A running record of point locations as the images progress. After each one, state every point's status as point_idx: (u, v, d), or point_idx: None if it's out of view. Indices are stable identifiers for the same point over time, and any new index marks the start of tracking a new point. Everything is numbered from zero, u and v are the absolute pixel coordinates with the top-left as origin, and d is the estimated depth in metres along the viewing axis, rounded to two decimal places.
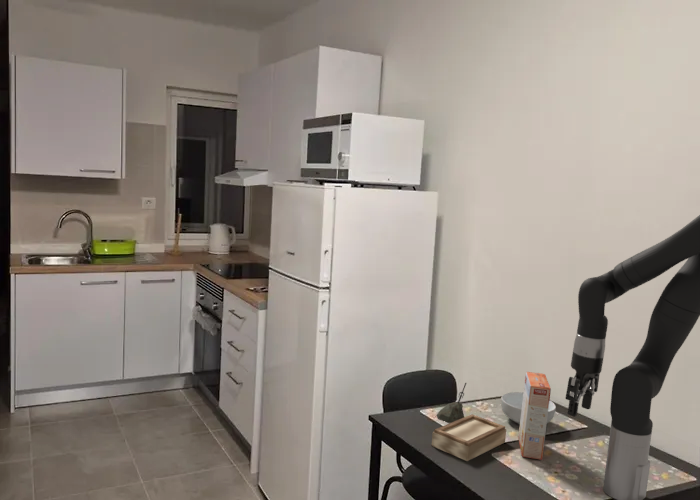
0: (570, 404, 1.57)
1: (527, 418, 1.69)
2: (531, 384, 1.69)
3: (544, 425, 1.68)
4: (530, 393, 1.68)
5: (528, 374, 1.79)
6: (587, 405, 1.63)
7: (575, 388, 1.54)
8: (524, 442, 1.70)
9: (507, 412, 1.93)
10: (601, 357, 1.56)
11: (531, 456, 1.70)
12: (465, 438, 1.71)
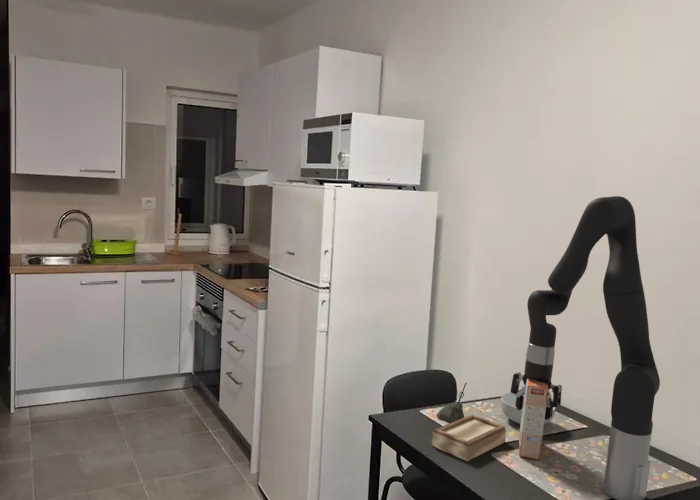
0: (550, 410, 1.71)
1: (524, 418, 1.69)
2: (529, 384, 1.69)
3: (541, 425, 1.68)
4: (527, 393, 1.69)
5: None
6: (521, 406, 1.78)
7: (560, 393, 1.70)
8: (521, 442, 1.70)
9: (507, 412, 1.93)
10: None
11: (528, 456, 1.70)
12: (465, 438, 1.71)
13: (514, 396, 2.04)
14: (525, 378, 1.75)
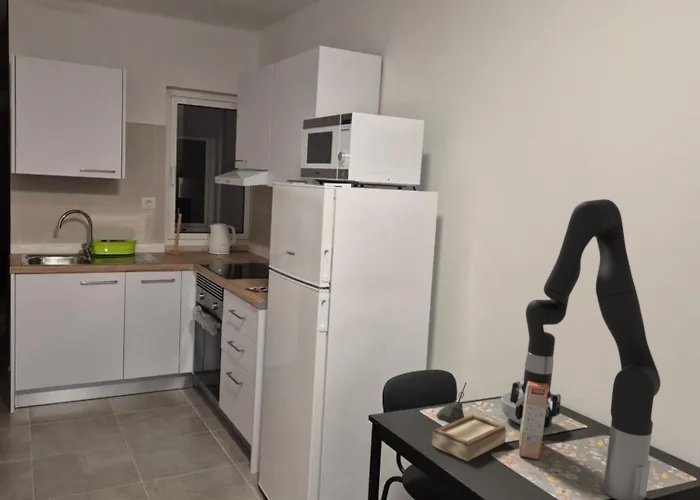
0: (549, 419, 1.72)
1: (525, 417, 1.69)
2: (529, 384, 1.69)
3: (542, 425, 1.68)
4: (528, 392, 1.69)
5: None
6: (521, 415, 1.79)
7: (559, 403, 1.71)
8: (522, 441, 1.70)
9: (507, 412, 1.93)
10: None
11: (528, 456, 1.70)
12: (465, 438, 1.71)
13: None
14: (524, 387, 1.76)
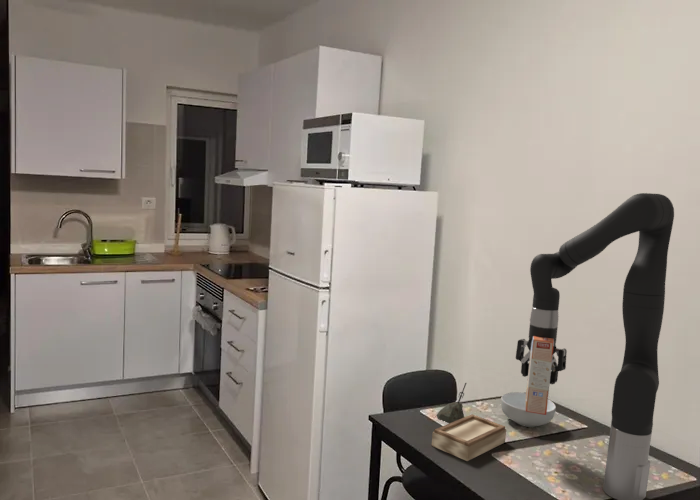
0: (555, 374, 1.70)
1: (530, 372, 1.68)
2: (534, 338, 1.68)
3: (548, 379, 1.67)
4: (533, 347, 1.67)
5: None
6: (527, 372, 1.77)
7: (565, 357, 1.69)
8: (528, 397, 1.69)
9: (507, 412, 1.93)
10: None
11: (535, 411, 1.68)
12: (465, 438, 1.71)
13: (514, 396, 2.04)
14: (529, 343, 1.75)
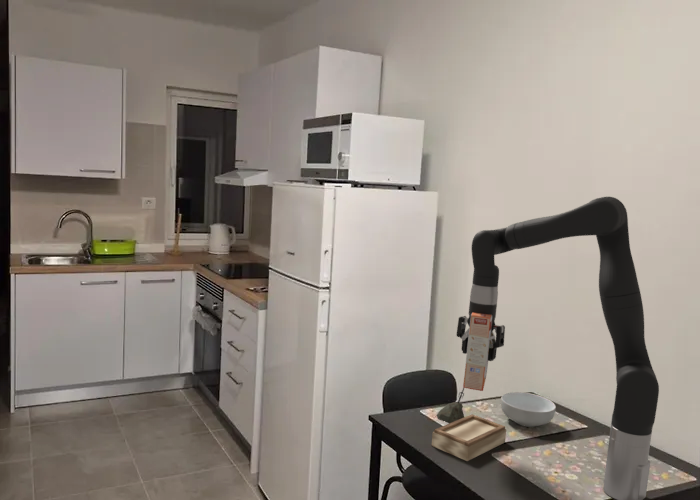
0: (494, 351, 1.70)
1: (468, 348, 1.67)
2: (472, 314, 1.68)
3: (485, 355, 1.66)
4: (471, 322, 1.67)
5: None
6: None
7: (503, 334, 1.69)
8: (465, 373, 1.68)
9: (507, 412, 1.93)
10: None
11: (472, 387, 1.68)
12: (465, 438, 1.71)
13: (514, 396, 2.04)
14: None
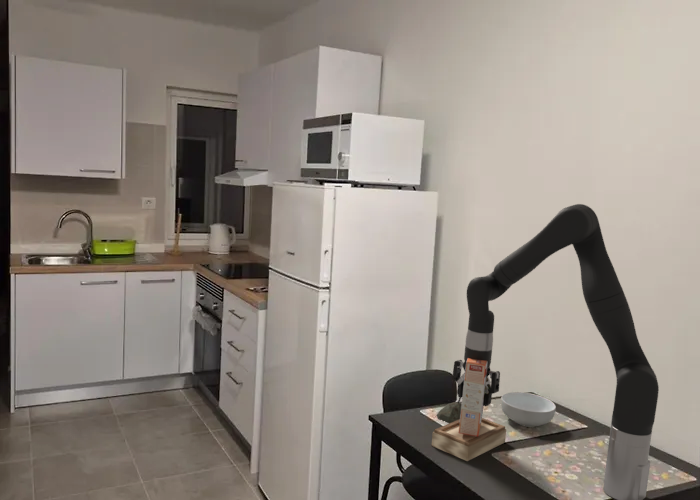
0: (489, 396, 1.71)
1: (463, 394, 1.69)
2: (468, 360, 1.69)
3: (480, 401, 1.68)
4: (466, 369, 1.68)
5: None
6: None
7: (499, 379, 1.70)
8: (460, 418, 1.70)
9: (507, 412, 1.93)
10: None
11: (467, 433, 1.69)
12: (465, 438, 1.71)
13: (514, 396, 2.04)
14: (465, 365, 1.76)
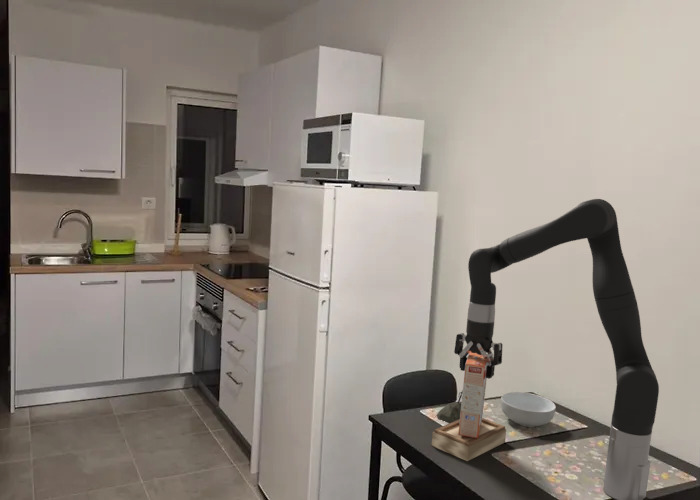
0: (492, 368, 1.70)
1: (463, 396, 1.69)
2: (467, 362, 1.69)
3: (479, 403, 1.68)
4: (465, 371, 1.68)
5: (470, 353, 1.78)
6: None
7: (501, 351, 1.70)
8: (460, 420, 1.70)
9: (507, 412, 1.93)
10: None
11: (467, 434, 1.69)
12: (465, 438, 1.71)
13: (514, 396, 2.04)
14: (467, 338, 1.75)
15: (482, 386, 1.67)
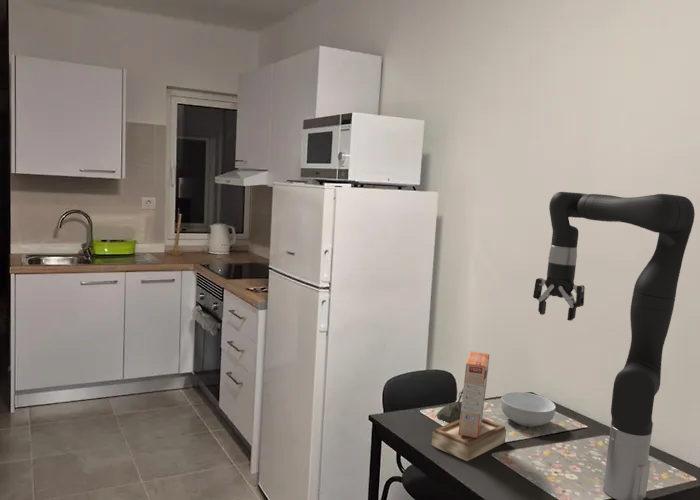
0: (574, 310, 1.73)
1: (463, 396, 1.69)
2: (468, 362, 1.69)
3: (480, 403, 1.68)
4: (466, 371, 1.68)
5: (471, 353, 1.78)
6: (544, 310, 1.80)
7: (583, 293, 1.72)
8: (460, 420, 1.70)
9: (507, 412, 1.93)
10: None
11: (467, 434, 1.69)
12: (465, 438, 1.71)
13: (514, 396, 2.04)
14: (548, 281, 1.77)
15: (483, 386, 1.67)
